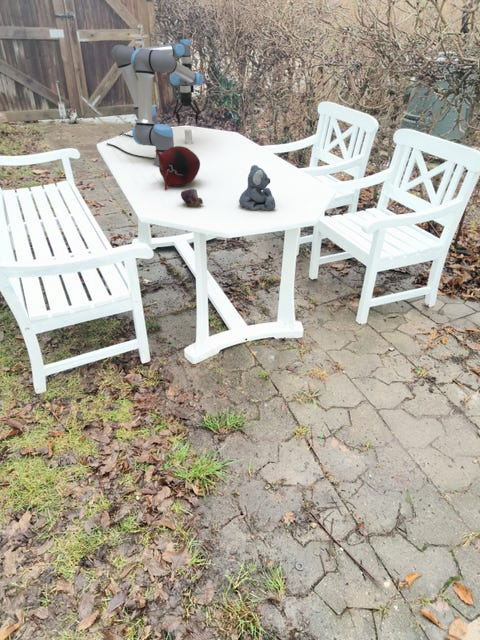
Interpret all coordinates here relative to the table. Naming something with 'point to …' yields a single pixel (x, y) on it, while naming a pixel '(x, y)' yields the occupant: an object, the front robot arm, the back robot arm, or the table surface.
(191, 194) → the rock
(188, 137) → the canister
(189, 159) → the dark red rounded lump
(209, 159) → the table surface
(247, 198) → the koala plush
